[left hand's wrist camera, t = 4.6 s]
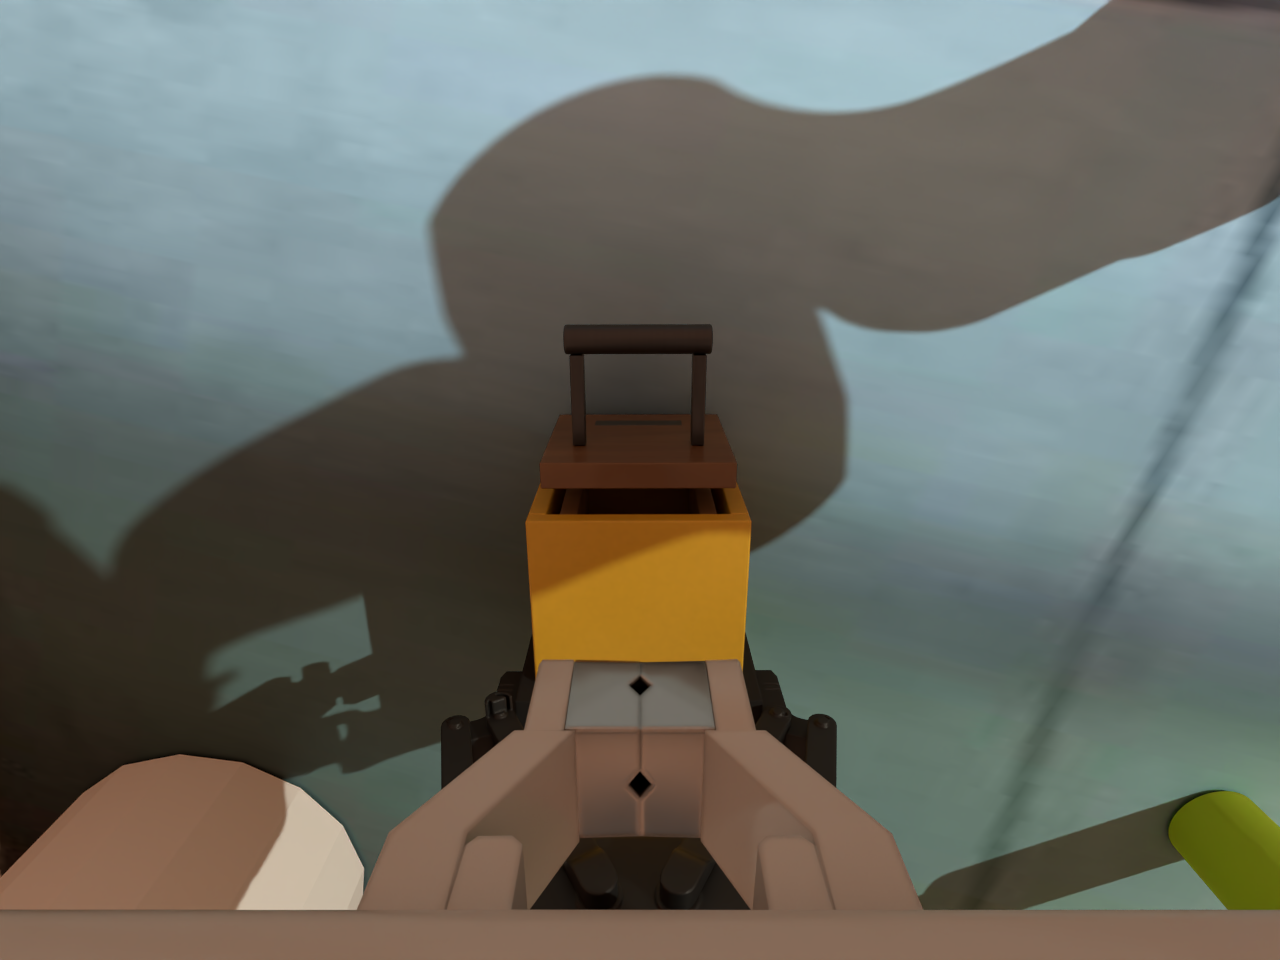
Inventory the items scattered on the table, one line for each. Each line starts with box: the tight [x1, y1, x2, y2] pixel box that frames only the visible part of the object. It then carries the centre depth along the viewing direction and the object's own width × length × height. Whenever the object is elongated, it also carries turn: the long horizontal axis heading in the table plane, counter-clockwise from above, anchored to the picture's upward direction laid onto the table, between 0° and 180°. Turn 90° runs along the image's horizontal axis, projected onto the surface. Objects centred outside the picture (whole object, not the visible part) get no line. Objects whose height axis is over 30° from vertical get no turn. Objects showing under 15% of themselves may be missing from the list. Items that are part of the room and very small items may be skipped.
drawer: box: [539, 324, 737, 515], centre depth 35 cm, size 19×8×8 cm, turn 0°
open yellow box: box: [525, 482, 751, 679], centre depth 37 cm, size 14×10×10 cm
